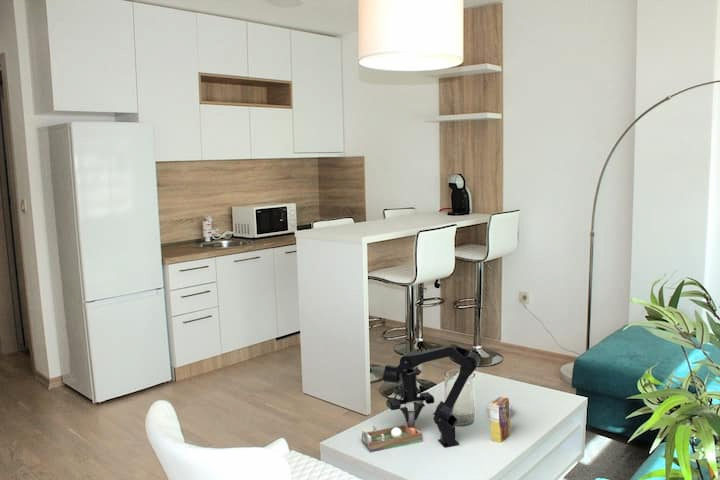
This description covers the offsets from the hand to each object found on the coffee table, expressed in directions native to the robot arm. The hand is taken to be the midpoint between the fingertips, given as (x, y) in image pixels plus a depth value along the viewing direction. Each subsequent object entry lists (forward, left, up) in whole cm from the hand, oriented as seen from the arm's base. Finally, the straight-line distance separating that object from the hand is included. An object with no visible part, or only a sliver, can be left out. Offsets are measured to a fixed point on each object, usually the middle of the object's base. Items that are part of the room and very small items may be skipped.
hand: (411, 421), depth 244 cm
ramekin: (+4, -42, -7) cm, 43 cm away
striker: (0, 0, -6) cm, 6 cm away
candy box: (-14, -32, -7) cm, 36 cm away
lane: (0, +9, -7) cm, 11 cm away
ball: (0, +7, -4) cm, 8 cm away
